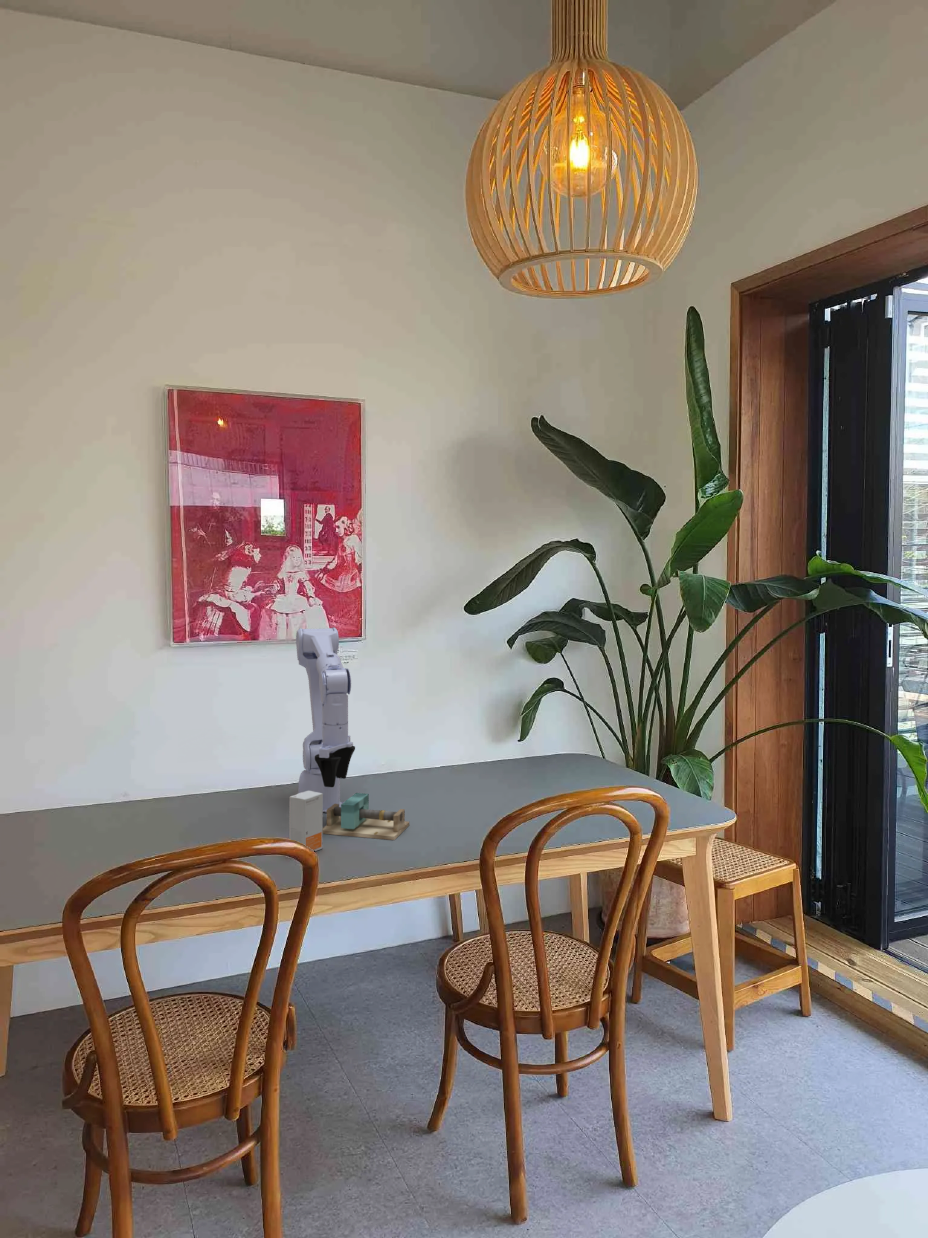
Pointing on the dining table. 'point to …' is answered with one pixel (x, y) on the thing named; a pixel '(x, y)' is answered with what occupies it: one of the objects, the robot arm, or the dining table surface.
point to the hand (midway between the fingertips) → (335, 782)
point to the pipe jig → (368, 823)
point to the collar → (353, 810)
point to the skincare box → (306, 818)
